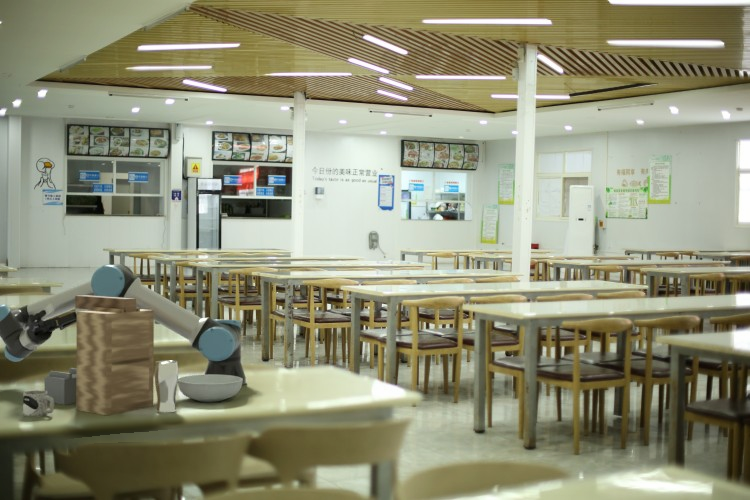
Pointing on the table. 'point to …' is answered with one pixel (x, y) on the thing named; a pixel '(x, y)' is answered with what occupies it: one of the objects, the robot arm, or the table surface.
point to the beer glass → (166, 385)
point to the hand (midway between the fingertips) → (70, 306)
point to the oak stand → (114, 360)
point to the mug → (36, 403)
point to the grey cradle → (61, 386)
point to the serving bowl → (210, 387)
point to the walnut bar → (105, 302)
